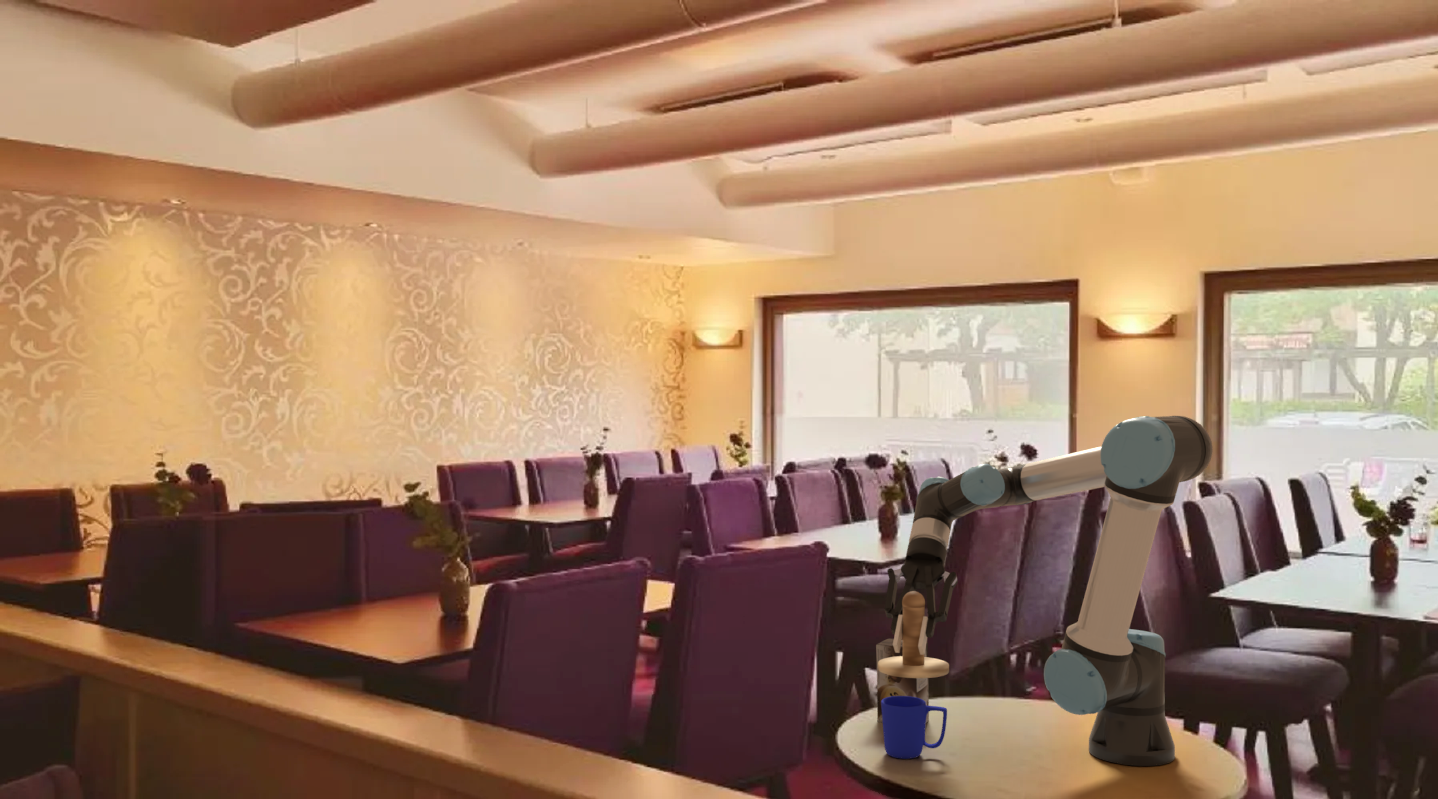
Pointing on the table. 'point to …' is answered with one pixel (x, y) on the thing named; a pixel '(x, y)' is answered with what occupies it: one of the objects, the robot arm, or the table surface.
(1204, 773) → the table surface
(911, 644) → the wooden peg on disc
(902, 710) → the mug
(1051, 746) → the table surface
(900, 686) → the coffee box
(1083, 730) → the table surface
